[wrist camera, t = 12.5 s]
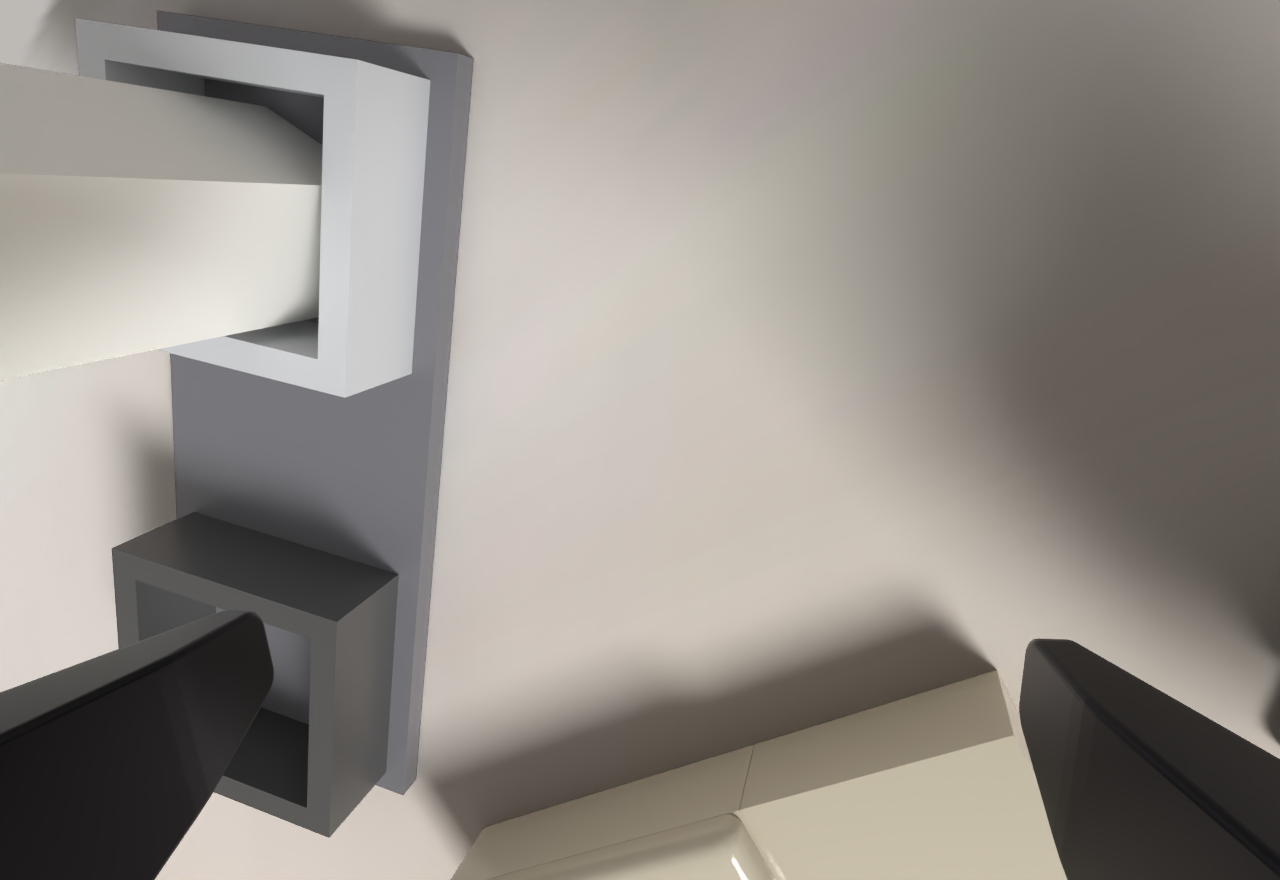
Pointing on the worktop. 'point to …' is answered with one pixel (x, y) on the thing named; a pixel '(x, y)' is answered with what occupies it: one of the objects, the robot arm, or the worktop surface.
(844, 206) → the worktop surface
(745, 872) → the electrical outlet
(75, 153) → the plug
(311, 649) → the grey long flat tray
